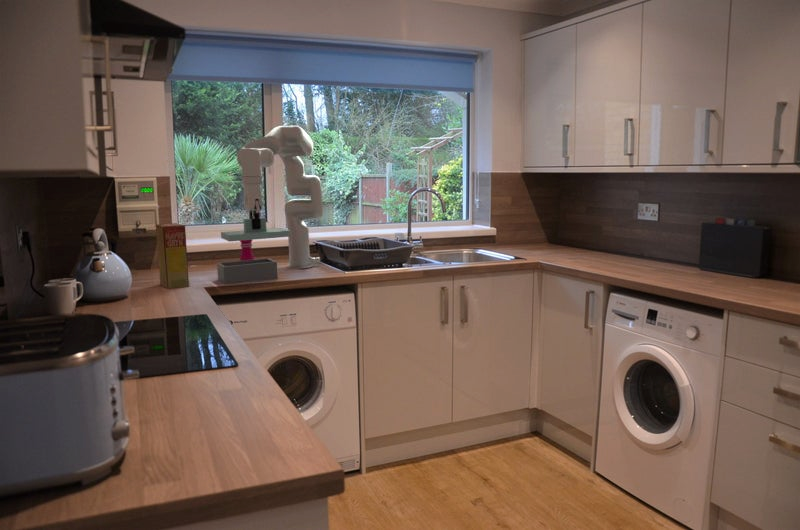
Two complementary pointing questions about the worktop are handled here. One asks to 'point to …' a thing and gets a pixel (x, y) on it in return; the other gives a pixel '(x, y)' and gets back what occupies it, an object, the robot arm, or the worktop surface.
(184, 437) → the worktop surface
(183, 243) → the food packaging
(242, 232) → the lid
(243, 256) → the pepper mill
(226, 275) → the tub
